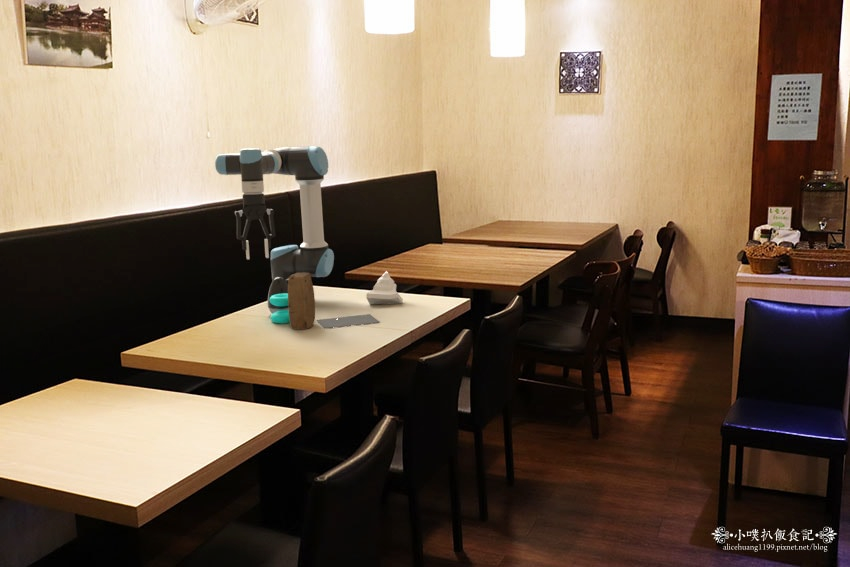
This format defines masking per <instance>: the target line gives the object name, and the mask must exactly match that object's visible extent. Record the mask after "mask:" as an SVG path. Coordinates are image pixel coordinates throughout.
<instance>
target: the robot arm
mask: <svg viewBox="0 0 850 567" xmlns="http://www.w3.org/2000/svg"><path fill="white" fill-rule="evenodd" d="M214 164H215V166H214V167H215V170H216V172H217V173H218V174H219V175H220V176H221V175H223V176H233V175H234V176H236V175H238V176H239V175H240V177H241V179H240V180H241V192H242V193H243V194H242V205H243V206H242V209H240V210H238V211H237V210H235V211H234V215H235V217H236V239H237V240H239V241H241V244H242V250H243V251H245V255H246V256H245V257H246V260H247V261H248V260H250V258H251V257H250V245H249V240H247V238H248V235H249V231H250V226H251V223H252V221H255V220H258V221H259V222H260V225H261V227H262V231H263V233H264V235H265V237H266V238H264V254H265V258H266V259H269V258H270V269H271V271H270V272H271V280H272V281H273V280H274V279H275V278H276V277H283V278H284V279H285V280H287V279H288V278H289V277H290V276H291V275H292V274H295V273H303V272H306V273H310V275H311V278H315V277H316V278H321V277H322V278H325V277H328V276H329V275H330V274H331V272H332V270H333V268H334V260H335V255H334V254H335V253H334V251H333V250H332V249H331V248H329V244H328V243H327V242H326V241H325V234H324V220H323V219H324V218H323V216H324V215H323V204H322V203H323V202H322V200H323V199H322V186H321V183H322V182H323V181H324V180H325V175H327V174H328V172H329V159H328V156H327V153H326V152H325V150H324V149H323V148H322V147H320V146H317V145H307V146H306V145H304V146H284V147H283V146H282V147H278V148H272V149H267V150H264V151H263V152H262V149H261V148H242V149H240V151H239V153H224V154H223V153H222V154H221V153H220V154H218V155H217V156H216V157H215V162H214ZM271 174H275V175H282V176H294V178H295V181H296V182H297V183H298V184H299V195H300V197H299V198H300V210H301V211H300V212H301V225H302V226H301V228H302V239H303V241H302V243H300V245H299V246H298V245H297V244H288V245H284V246H283V245H282V246H279V247H275V248H273V249H272V250H271V251H270V252H269V249H271V248H272V239H273V238H275V237H276V236H277V235H276V227H275V220H274V214H275V210H274V209H272V208H267V207H266V202H265V201H266V200H265V194H264V191H265V187H264V185H265V184H264V175H271ZM265 213H266V214H267V215H268V222H269V229H270V232H269V229H268V227H267V225H266V222H265V219H264V216H265ZM243 214H244V215H245V217H246V219H245V224H244V229H243V233H242V218H241V217H243ZM269 253H270V254H269ZM272 281H271V282H272ZM288 284H289V282H288Z"/></svg>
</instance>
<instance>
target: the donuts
mask: <svg viewBox="0 0 850 567" xmlns="http://www.w3.org/2000/svg"><path fill="white" fill-rule="evenodd" d="M269 301H270V303H271V304H272V305H275V306H288V293H283V294H276V295H273V296H271V297H270V299H269ZM270 320H271V322H273V323H274V322H275V323H274V324H290V323H289V322H290V319H289V310H282V311H277V312H275V313H273V314H272V313H271V315H270Z"/></svg>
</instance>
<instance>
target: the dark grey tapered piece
mask: <svg viewBox="0 0 850 567" xmlns="http://www.w3.org/2000/svg"><path fill="white" fill-rule="evenodd" d="M288 286H289V285H288V279H287V280H285V279H284V278H283V277H276V278H275V279H274V280H273V281H271V284H270V286H269V290H268V295H267V307H268V310H269V312H270V313H271V315H272V314H273V313H275V312H277V311H282V310H289V306H275V305H272V304H271V303H270V301H269V299H270V297H271V296H273V295H276V294H283V293H288Z"/></svg>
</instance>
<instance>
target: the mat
mask: <svg viewBox="0 0 850 567" xmlns="http://www.w3.org/2000/svg"><path fill="white" fill-rule="evenodd" d="M337 318H338V320H336V319H337ZM316 322H318V324H320V325H321V327H323V328H324V329H325V328H329V329H334V328H333V327H338V328H343V327H342V326H347V327H352V326H351V325H356V326H362V325H361V324H364V325H371V323H373V324H380V323H379V322H380V320H378V319H377V318H376V317H374V316H373V315H371V314H370V313H368V314H359V315H349V316H347V315H346V316H341V317H339V316H338V317H330V318H322V319H321V318H320V319H316Z"/></svg>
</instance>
